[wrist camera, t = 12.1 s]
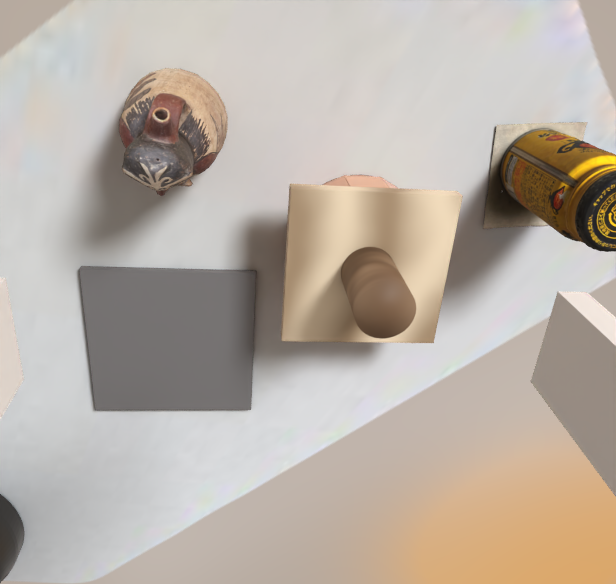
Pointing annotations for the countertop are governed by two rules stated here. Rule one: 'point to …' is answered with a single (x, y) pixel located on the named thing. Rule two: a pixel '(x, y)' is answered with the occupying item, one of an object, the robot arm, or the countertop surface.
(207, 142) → the figurine
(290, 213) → the lid
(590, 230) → the condiment
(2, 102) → the countertop surface
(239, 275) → the mat
